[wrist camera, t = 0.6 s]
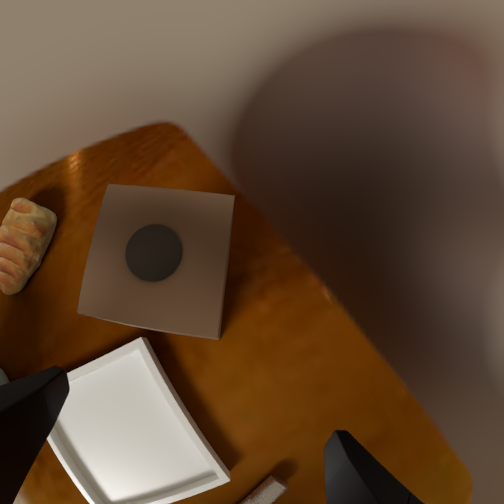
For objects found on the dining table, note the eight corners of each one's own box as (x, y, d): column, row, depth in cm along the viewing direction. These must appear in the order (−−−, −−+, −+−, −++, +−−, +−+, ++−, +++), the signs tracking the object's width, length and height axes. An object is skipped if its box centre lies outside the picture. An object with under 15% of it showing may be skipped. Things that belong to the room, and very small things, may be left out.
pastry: (33, 307, 21) (9, 300, 17) (-6, 285, 21) (-29, 276, 17) (64, 216, 24) (46, 198, 20) (23, 204, 24) (5, 188, 20)
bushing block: (219, 339, 22) (217, 337, 11) (145, 329, 22) (75, 312, 10) (227, 266, 24) (234, 193, 12) (157, 257, 24) (107, 182, 12)
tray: (108, 510, 15) (102, 518, 14) (35, 391, 18) (24, 393, 17) (229, 471, 19) (230, 480, 17) (147, 337, 21) (141, 337, 20)
